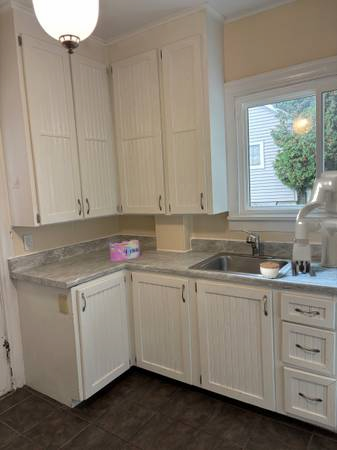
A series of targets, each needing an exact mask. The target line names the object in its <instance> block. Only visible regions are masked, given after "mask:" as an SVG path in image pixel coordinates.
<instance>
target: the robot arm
mask: <svg viewBox="0 0 337 450" xmlns="http://www.w3.org/2000/svg"><path fill="white" fill-rule="evenodd" d="M310 192H311V193H310V196H309V200H308V202H306V204H304V205H303V206H302V207H301V208H300V210H299V211H298V213H297V215H296V218H295V219H296V220H295V223H294V226H295V227H294V234H295V235H294V238H293V239H292V242H293V244H292V245H293V246H292V255H293V259H292V262H296V263H297V264H298V265H299V270H300V272H303V271H304V267H305V265H306V264H307V263H310V264H311V263H312V246H311V243H310V242H309V241H310V233H316V232H318V231H320V232H321V261H320V262H319V261H318V265H319V266H320V267H323V266H324V267H325V268H337V216H334V215H337V170H325V171H323V172H321V174H320V178H317V179H315V180H314V183H313V186H312V190H311V191H310ZM323 206H324V211H325V213H326V214H328V216H323V217H322V218H321V219H320V221H319V220H318V219H316V218H307V216H308V214H309V213H311V212H313V211H314V210H317V209H319V208H322V207H323ZM329 215H330V216H329ZM331 215H333V216H331ZM300 261H303V264H302V265H301V263H300ZM324 267H323V268H324Z"/></svg>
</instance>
